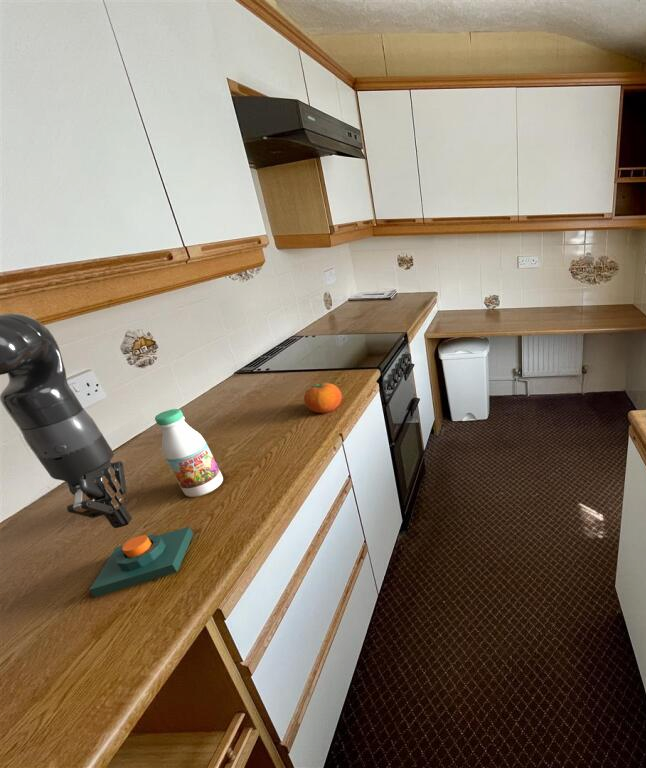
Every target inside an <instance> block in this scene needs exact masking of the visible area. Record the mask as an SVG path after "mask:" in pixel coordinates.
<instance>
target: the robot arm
mask: <svg viewBox="0 0 646 768" xmlns="http://www.w3.org/2000/svg"><path fill="white" fill-rule="evenodd" d="M6 374H7V376H8V384H7V385H6V386H5V388H4V389H3V390H2V391H1V392H0V403H1V405H2V406H3V408H4V409H5V411H6V413H7V414H8V415H9V417H10V418H11V419H12V421H13V422H14V424H15V425H16V427H17V428H18V429H19V430H20V432H21V434H22V436H23V439H24V441H25V442H26V444H27V446H28V447H29V449H30V450H31V451H32V452H33V453H34V456H35V457H36V458H37V460H38V461H39V462H40V463H41V464H40V465H42V466H43V468H44V469H45V471H46V472H47V474H49V476H50V477H51V478H52V479H54V480H58V481H63V482H66V484H67V486H68V491H69V492H70V493H71V495H74V500H73V503H72V504H68V505H67V507H66V510H67V512H68V513H70V514H75V515H79V516H82V517H86V518H90V519H96V518H98V517H101V516H102V517H103V516H104V517H105V519H106V520H107V521H108V522H109V524H110V525H111V527H112V528H114V529H119V528H122V527H125V526H128V525H129V524H130V522H131V521H132V519H133V516H132V514H130V512H129V510H128V509H127V508H126V506H125V504H124V502H125V498H124V496H123V495H126V494H127V484H126V476H125V468H124V462H123V461H122V460H119V461H114V462H111V461H112V459H113V458H114V454H115V453H114V451H113V450H112V448H111V446H110V444H109V443H108V441H107V439H106V437H105V436H104V435H103V433H102V431H101V430H100V428H99V427H98V425H97V424H96V422H95V420H94V418H93V417H92V416H91V415H90V414H89V413H88V412H87V411H86V409H85V408H84V406H83V405H82V404H81V402H80V401H79V399H78V397H77V395H76V394H75V392H74V391H73V389H72V388H71V387H70V384H69V383H68V378H67V372H66V368H65V364H64V361H63V357H62V353H61V350H60V347H59V345H58V342H57V340H56V338H55V336H54V334H52V332H51V331H50V330H49V329H48V328H47V327H46V326H45V325H44V324H43V323H41V322H40V321H38V320H37V319H35V318H33V317H31V316H29V315H26V314H21V313H13V312H12V313H2V314H0V376H2V375H3V376H4V375H6Z"/></svg>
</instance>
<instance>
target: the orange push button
mask: <svg viewBox="0 0 646 768" xmlns="http://www.w3.org/2000/svg"><path fill="white" fill-rule="evenodd" d="M147 536H148V535H143V534H142V535H138V536H135V537H133V538H131V539H129V540H128V541H126V542H125V543H124V544H123V545H124V546H123V547H122V550H123V551H124V553H125V554H126V556H127V557H128V558H133V557H136V556H139V555H141V554H142V553H144V552H146V551H147V550H148V549H149V548H151V546H152V543H151V542H150V540H149V539H148V537H147Z"/></svg>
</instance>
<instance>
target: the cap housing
mask: <svg viewBox="0 0 646 768" xmlns="http://www.w3.org/2000/svg"><path fill="white" fill-rule="evenodd" d="M146 536H147V537H148V539H149V540H150V542H151V543H152V546H151V548H149V549H148V550H147V551H146V552H144V553H142V554H141V555H139V556H136V557H133V558H128V557H127V556H126V554H125V553H124V551H123V550H122V547H123V546H124V544H123V545H119V546H115V548H114V549H113V550H112V552H111V554H110V556H109V557H108V559H107V560H106V562H105V564H104V565H103V567H102V569H101V570H100V572H99V573H98V575H97V576H96V578H95V580H94V581H93V583H92V584H91V586H90V587H89V589H88V591H89V592H90V594H92V596H93V597H94V598H98V597H101V596H105V595H107V594H111V593H113V592H114V593H115V592H117V591H121V590H123V589H127V588H130V587H134V586H137V585H140V584H143V583H147V582H150V581H153V580H156V579H159V578H160V579H161V578H163V577H166V576H170V575H172V574H176V573H178V572H179V568H180V567H181V565H182V562H183V560H184V557H185V555H186V553H187V550H188V548H189V546H190V543H191V541H192V538H193V536H194V532H193V531H192V529H191V527H190V526H186V527H182V528H179V529H176V530H173V531H169V532H166V533H165V532H164V533H161V534H149V535H146Z"/></svg>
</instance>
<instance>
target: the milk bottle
mask: <svg viewBox="0 0 646 768" xmlns="http://www.w3.org/2000/svg"><path fill="white" fill-rule="evenodd" d="M154 420H155V422H156V424H157V425H158V428H160V429H161V432H162V439H161V440H162V441H161V450H162V454H163V456H164V458H165V460H166V462H167V464H168V466H169V468H170V470H171V472H172V474H173V476H174V478H175V479H176V481H177V483H178V485H179V487H180V489H181V491H182V492H183V494H184V495H185V496H186V497H189V498H196V497H200V496H201V497H202V496H203V495H204V496H205V495H206V494H209V493H211V492H213V491H214V490H216V489H217V488H219V487H220V485H222V483H223V482H224V477H223V475H222V472H221V470H220V468H219V465H218V464H217V462H216V460H215V458H214V455H213V453H212V452H211V449H210V448H209V445H208V443H207V441H206V440H205V438H204V437H203V435H202V434H201V433H200V432H198V431H197V430H195V429H194V428H193V427H192V426H190V425H189V424H188V423H187V422H186V421H185V420H186V419H185V416H184V413H183V412H182V410H181V409H179V408H173V409H167V410H165V411H163V412H160V413H158V414H157V415H155V417H154Z"/></svg>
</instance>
